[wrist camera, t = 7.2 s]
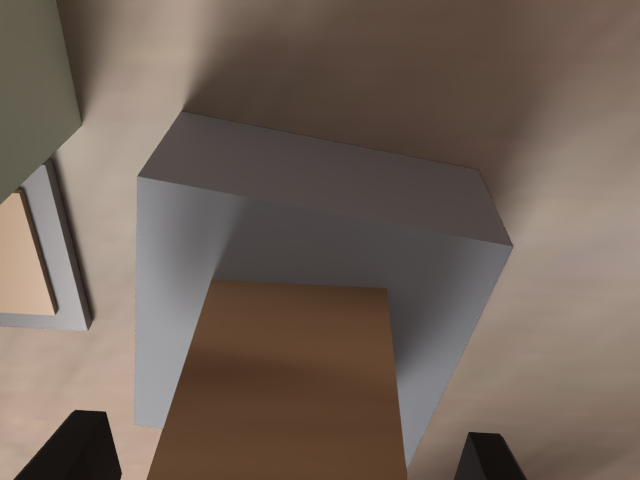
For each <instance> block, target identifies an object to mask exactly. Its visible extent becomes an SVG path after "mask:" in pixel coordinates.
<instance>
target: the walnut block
mask: <svg viewBox="0 0 640 480" xmlns="http://www.w3.org/2000/svg"><path fill="white" fill-rule="evenodd" d="M147 480H407V471H406V462H405V453H404V444H403V434H402V425H401V416H400V407H399V398H398V389H397V380H396V371H395V361H394V352H393V343H392V334H391V325H390V316H389V307H388V298H387V289H386V288H370V287H349V286H329V285H309V284H288V283H268V282H248V281H227V280H211V282H210V285H209V288H208V291H207V294H206V297H205V300H204V304H203V307H202V310H201V313H200V316H199V319H198V322H197V325H196V328H195V331H194V334H193V338H192V341H191V344H190V347H189V350H188V353H187V356H186V359H185V362H184V365H183V368H182V372H181V375H180V378H179V381H178V384H177V387H176V390H175V393H174V396H173V399H172V403H171V406H170V409H169V412H168V415H167V418H166V421H165V424H164V427H163V430H162V433H161V437H160V440H159V443H158V446H157V449H156V452H155V455H154V458H153V461H152V464H151V467H150V471H149V474H148V477H147Z"/></svg>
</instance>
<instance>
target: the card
mask: <svg viewBox="0 0 640 480" xmlns="http://www.w3.org/2000/svg"><path fill="white" fill-rule="evenodd" d="M91 324H92V320H91V316H90V312H89V308H88V304H87V300H86V296H85V292H84V288H83V284H82V279H81V275H80V271H79V267H78V263H77V259H76V255H75V251H74V247H73V243H72V239H71V235H70V231H69V227H68V223H67V219H66V215H65V210H64V206H63V202H62V198H61V194H60V190H59V186H58V182H57V178H56V174H55V170H54V166H53V162H52V159H47V160H46V161H45V162H44V163H43V164H42V165H41V166H40V167H39V168H38V169H37V170H36V171H35V172H34V173H33V174H31V175H30V176H29V177H28V178H27V179H26V180H25V181H24V182H23V183H22V184H21V185H20V186H19V187H18V188H17V189H16V190H15V191H14V192H13V193H12V194H11V195H10V196H9V197H8V198H7V199H6V200H5V201H4V202H3V203H2V204H1V205H0V326H1V327H19V328H37V329H55V330H73V331H88V330H89V328H90V326H91Z"/></svg>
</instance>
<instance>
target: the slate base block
mask: <svg viewBox="0 0 640 480" xmlns="http://www.w3.org/2000/svg"><path fill="white" fill-rule="evenodd" d="M512 249H513V244H512V242H511V240H510V238H509V236H508V234H507V231H506V229H505V227H504V225H503V223H502V221H501V218H500V216H499V214H498V212H497V210H496V208H495V205H494V203H493V201H492V199H491V197H490V195H489V192H488V190H487V188H486V186H485V184H484V182H483V179H482V177H481V175H480V173H479V171H478V170H477V169H472V168H467V167H462V166H457V165H452V164H446V163H441V162H436V161H431V160H426V159H421V158H416V157H411V156H406V155H401V154H396V153H391V152H386V151H380V150H375V149H370V148H365V147H360V146H355V145H350V144H345V143H340V142H335V141H330V140H325V139H320V138H314V137H309V136H304V135H299V134H294V133H289V132H284V131H279V130H274V129H269V128H264V127H259V126H254V125H248V124H243V123H238V122H233V121H228V120H223V119H218V118H213V117H208V116H203V115H198V114H193V113H188V112H182V111H181V112H180V114H179V115H178V117H177V118H176V120H175V121H174V123H173V124H172V126H171V127H170V129H169V130H168V132H167V133H166V135H165V136H164V137H163V139H162V140H161V142H160V143H159V145H158V146H157V148H156V149H155V151H154V152H153V154H152V155H151V157H150V158H149V160H148V161H147V163H146V164H145V166H144V167H143V169H142V170H141V171H140V173H139V174H138V176H137V233H136V317H135V402H134V425H140V426H146V427H153V428H159V429H163V427H164V424H165V421H166V418H167V415H168V412H169V409H170V406H171V403H172V399H173V396H174V393H175V390H176V387H177V384H178V381H179V378H180V375H181V372H182V368H183V365H184V362H185V359H186V356H187V353H188V350H189V347H190V344H191V341H192V338H193V334H194V331H195V328H196V325H197V322H198V319H199V316H200V313H201V310H202V307H203V304H204V300H205V297H206V294H207V291H208V288H209V285H210V282H211V280H227V281H248V282H268V283H288V284H309V285H329V286H349V287H370V288H386V289H387V298H388V307H389V316H390V325H391V334H392V343H393V352H394V361H395V371H396V380H397V389H398V398H399V407H400V416H401V425H402V434H403V444H404V453H405V462H406V466H409V464H410V461H411V459H412V457H413V455H414V453H415V451H416V449H417V447H418V445H419V443H420V441H421V439H422V436H423V434H424V432H425V430H426V428H427V426H428V424H429V422H430V420H431V418H432V416H433V414H434V411H435V409H436V407H437V405H438V403H439V401H440V399H441V397H442V395H443V393H444V391H445V388H446V386H447V384H448V382H449V380H450V378H451V376H452V374H453V372H454V370H455V368H456V366H457V363H458V361H459V359H460V357H461V355H462V353H463V351H464V349H465V347H466V345H467V343H468V341H469V338H470V336H471V334H472V332H473V330H474V328H475V326H476V324H477V322H478V320H479V318H480V316H481V313H482V311H483V309H484V307H485V305H486V303H487V301H488V299H489V297H490V295H491V293H492V291H493V288H494V286H495V284H496V282H497V280H498V278H499V276H500V274H501V272H502V270H503V268H504V266H505V263H506V261H507V259H508V257H509V255H510V253H511V251H512Z"/></svg>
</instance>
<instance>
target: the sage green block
mask: <svg viewBox="0 0 640 480" xmlns="http://www.w3.org/2000/svg"><path fill="white" fill-rule="evenodd" d="M81 126H82V122H81V118H80V113H79V108H78V103H77V98H76V94H75V89H74V84H73V79H72V74H71V70H70V65H69V60H68V55H67V50H66V45H65V41H64V36H63V31H62V26H61V21H60V17H59V12H58V7H57V2H56V0H0V205H1V204H2V203H3V202H4V201H5V200H6V199H7V198H8V197H9V196H10V195H11V194H12V193H13V192H14V191H15V190H16V189H17V188H18V187H19V186H20V185H21V184H22V183H23V182H24V181H25V180H26V179H27V178H28V177H29V176H30V175H31V174H33V173H34V172H35V171H36V170H37V169H38V168H39V167H40V166H41V165H42V164H43V163H44V162H45V161H46V160H47V159H48V158H49V157H50V156H51V155H52V154H53V153H54V152H55V151H56V150H57V149H58V148H59V147H60V146H61V145H62V144H63V143H64V142H65V141H66V140H67V139H69V138H70V137H71V136H72V135H73V134H74V133H75V132H76V131H77V130H78V129H79V128H80V127H81Z"/></svg>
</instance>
